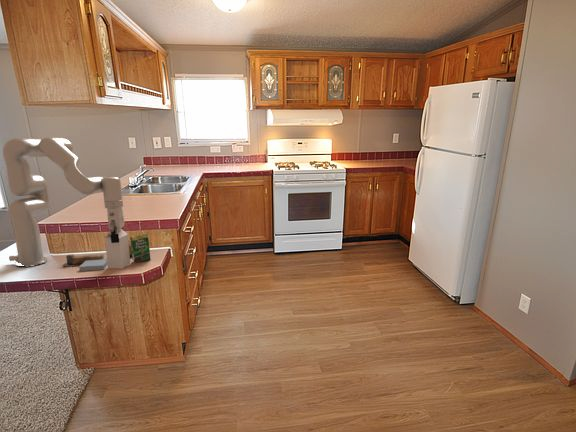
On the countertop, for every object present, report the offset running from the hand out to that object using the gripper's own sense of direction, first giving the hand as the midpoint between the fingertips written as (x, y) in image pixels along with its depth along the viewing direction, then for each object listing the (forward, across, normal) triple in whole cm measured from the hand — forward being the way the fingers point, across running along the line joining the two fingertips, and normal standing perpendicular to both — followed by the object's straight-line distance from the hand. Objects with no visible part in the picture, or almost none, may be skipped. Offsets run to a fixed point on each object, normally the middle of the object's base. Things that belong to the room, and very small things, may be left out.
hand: (117, 239), depth 158 cm
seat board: (+13, +2, +12) cm, 17 cm away
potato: (+13, +18, -1) cm, 23 cm away
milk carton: (+13, 0, +1) cm, 13 cm away
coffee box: (+13, +6, -8) cm, 17 cm away
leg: (+12, +9, +17) cm, 23 cm away
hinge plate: (+12, +8, +24) cm, 28 cm away
